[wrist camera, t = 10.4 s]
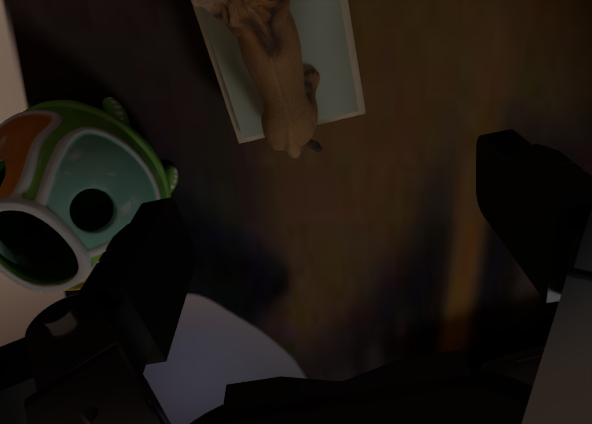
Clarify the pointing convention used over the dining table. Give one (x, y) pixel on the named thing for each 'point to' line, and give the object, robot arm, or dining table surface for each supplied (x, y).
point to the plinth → (315, 55)
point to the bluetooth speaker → (517, 365)
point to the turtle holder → (70, 189)
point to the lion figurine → (274, 69)
